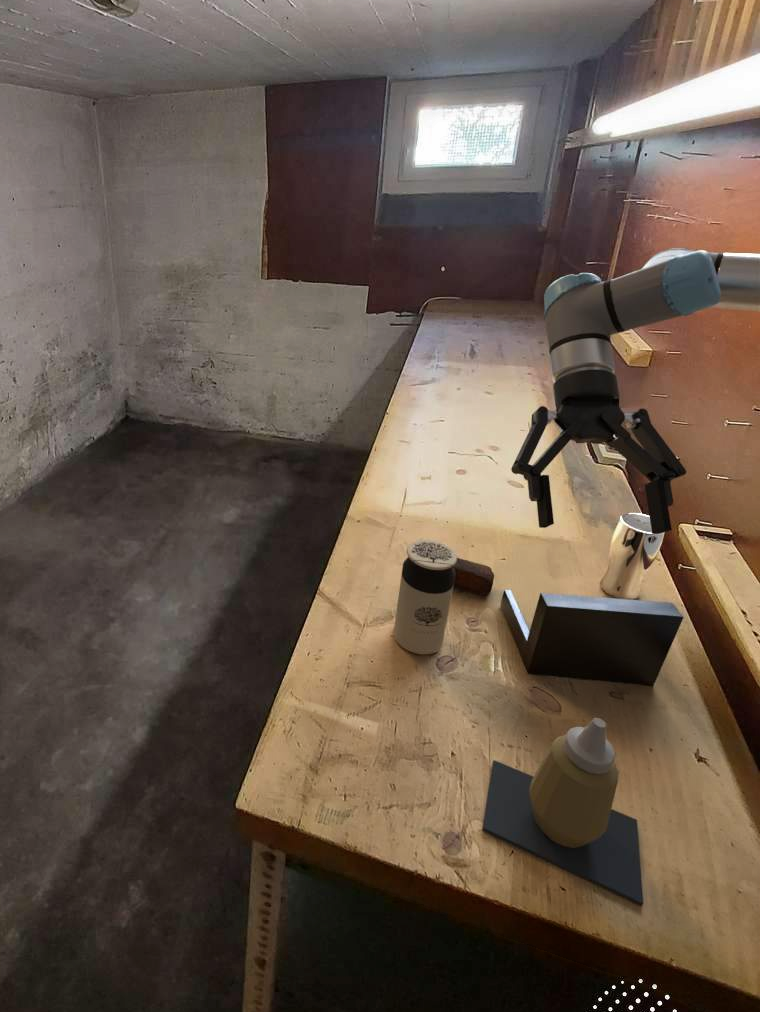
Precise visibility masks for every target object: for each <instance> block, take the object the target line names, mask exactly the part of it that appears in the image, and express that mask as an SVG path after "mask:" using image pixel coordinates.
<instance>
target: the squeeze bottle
mask: <svg viewBox="0 0 760 1012" xmlns="http://www.w3.org/2000/svg"><path fill="white" fill-rule="evenodd" d="M606 735H607V723H606V722H605V721H604V720H603V719H601V718H600V717H594V718H593V719H592V720H591V721H590V722H589V723H588V724H587V725H586V727H583V726H576V727H572V728H570V729H569V730H568V731H567V732H566V734H564V735H559V736H558V737H557V738H555V740H554V741H552V744H551V745H550V747H549V749H548V751H547V752H546V754H545V755H544V757H543V759H542V760H541V763H540V765H539V767H538V768H537V769H536V771H535V774H534V775H533V779H532V781H531V785H530V789H529V793H530V798H531V803H532V808H533V813H534V817H535V821H536V823H537V824H538V826H539V827H540V829H541V831H542V832H543V833H544V834H545V835H547V836H548V837H549V838H550V839H551V840H552V841H554V842H556V843H558V844H560V845H562V846H565V847H570V848H577V847H581V846H584V845H586V844H588V843H590V842H592V841H595V840H597V839H599V838H600V837H601V836H602V834H603V833H604V832H605V831H606V830H607V825H608V821H609V817H610V813H611V809H613V804H614V799H615V795H616V791H617V787H618V782H619V777H620V776H619V774H620V771H619V769H618V766H617V764H616V751H615V748H614V746H613V745H612V744H611V742H609V740H608V739H607V738H606V737H607V736H606Z"/></svg>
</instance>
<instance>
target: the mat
mask: <svg viewBox="0 0 760 1012" xmlns="http://www.w3.org/2000/svg"><path fill="white" fill-rule="evenodd" d="M533 777H534V775H531V774H528V773H527V772H524V771H521V770H519V769H517V768H514V767H511V766H509V765H507V764H504V763H502V762H500V761H498V760H495V759H493V761H492V765H491V773H490V778H489V785H488V792H487V797H486V798H487V799H486V805H485V811H484V817H483V823H482V828H481V829H482V832H485V833H487V834H489V835H491V836H492V837H495V838H498V839H499V840H502V841H503V842H506V843H508V844H510V845H512V846H514V847H516V848H518V849H521V850H523V851H524V852H526V853H529V854H531V855H533V856H535V857H537V858H539V859H541V860H543V861H546V862H547V863H550V864H552V865H553V866H556V867H559V868H561V869H562V870H565V871H566V872H569V873H571V874H573V875H575V876H576V877H579V878H581V879H583V880H585V881H587V882H590V883H591V884H593V885H596V886H598V887H600V888H602V889H604V890H606V891H608V892H611V893H612V894H615V895H617V896H619V897H621V898H623V899H625V900H628V901H629V902H632V903H634V904H636V905H638V906H640V907H642V906H643V905H644V894H643V893H644V892H643V881H642V868H641V855H640V840H639V828H638V820H637V819H636V818H633V817H631V816H630V815H627V814H625V813H621V812H619V811H617V810H614V809H613V808H611V813H610V817H609V821H608V825H607V830H606V831H605V832H604V833H603V834H602V836H601V837H600V838H599V839H597V840H595V841H592V842H590V843H588V844H586V845H584V846H581V847H577V848H570V847H565V846H562V845H560V844H558V843H556V842H554V841H552V840H551V839H550V838H549V837H548V836H547V835H545V834H544V833H543V832H542V831H541V829H540V827H539V826H538V824H537V823H536V821H535V817H534V813H533V808H532V803H531V798H530V793H529V789H530V785H531V781H532V779H533Z"/></svg>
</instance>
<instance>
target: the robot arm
mask: <svg viewBox="0 0 760 1012" xmlns="http://www.w3.org/2000/svg"><path fill="white" fill-rule="evenodd" d="M543 301H544V302H543V304H544V313H543V320H544V322H545V328H546V329H545V330H546V336H547V337H546V338H547V343H548V344H547V345H548V353H549V362H550V371H551V380H552V382H553V385H552V391H553V401H554V406H555V410H551V409H548V408H547V407H546V406H544V405H540V406H539V407H538V408H537V409H536V410H535V411H534V412H533V413H532V414H531V422H530V423H531V424H530V425H531V426H530V429H529V430H528V433H527V434H526V437H525V439H524V441H523V443H522V445H521V448H520V449H519V451H518V454H517V455H516V458H515V460H514V462H513V463H512V466H511V468H510V470H511V473H512V474H514V475H521V476H522V477H523V479H524V480H525V481H527V489H528V498H529V500H530V502H536V509H537V510H536V511H537V520H538V528H541V529H547V528H548V527H550V526H553V525H554V524H555V520H554V512H553V510H554V509H553V504H552V503H553V502H552V501H553V500H552V492H551V483H550V475H549V474H542V473H543V472H544V470H545V469H546V468H547V467H548V466H549V465H550V464H551V463H552V462H553V460H554V459H555V458H556V457H557V455H558V454H560V452H561V451H562V450H563V449H564V448H565V447H566V446H567V444H568V443H569V442H570V441H571V440H572V441H573V442H575V444H586V443H589V444H593V445H601V444H603V443H605V444H606V445H607V446H608V447H609V448H610V449H614V450H615V451H617V453H619V455H621V456H622V457H623V458H624V459H625V460H626V461H627V462H628V463H629V464H630V465H632V466H633V467H634V468H635V469H636V470H637V471H638V472H639V473H640V474H642V475H643V476H644V477H645V478H646V479H647V480H648V481H649V482H648V483H645V484H644V490H645V496H646V502H647V510H648V516H650V522H651V529H652V534H660V533H664V532H665V533H667V532H670V531H672V530H673V529H672V522H671V518H670V511H669V507H671V506H673V504H674V497H673V490H672V485H671V484H672V483H671V481H673V480H676V479H678V478H681V477H683V476H685V475H686V474H687V470H686V468H685V467H684V466H683V464H682V463H681V461H680V460H679V459H678V458H677V456H676V455H675V453H674V452H673V451H672V449H671V448H670V447H669V445H668V443H666V442H665V440H664V439H663V438H662V436H661V435H660V434H659V432H658V431H657V429H656V428H655V427H654V426H653V424H652V421H651V418H650V414H649V411H648V410H647V409H646V408H639V409H638V410H636V411H629V412H624V411H623V410H622V408H621V407H620V391H619V385H618V378H617V375H616V374H615V373H616V364H615V358H614V354H613V353H614V352H613V347H612V341H611V336H613V335H616V334H620V333H621V334H622V333H624V332H625V333H626V332H627V331H631V330H634V329H638V328H642V327H646V326H650V325H653V324H657V323H661V322H664V321H668V320H672V319H676V318H678V317H683V316H684V317H688V316H691V315H693V314H694V313H696V312H699V311H704V310H705V309H711V308H712V309H722V310H723V309H724V310H734V311H745V312H747V311H748V312H758V313H760V253H739V252H738V253H736V252H735V253H733V252H724V253H723V252H708V251H707V250H704V249H700V250H695V251H694V250H691V249H689V248H681V247H680V248H679V247H678V248H669V249H666V250H663V251H660V252H657V253H656V254H654V255H653V256H652V257H651V258H649V259H648V260H646V262H645V263H644V264H643V265H642V267H641V268H640V269H638V270H635V271H631V272H629V273H627V274H624V275H621V276H618V277H616V278H613V279H607V280H604V281H602V279H601V278H600V276H598V275H596V274H595V273H590V272H580V273H578V274H573V273H571V274H567V275H565V276H562V277H560V278H558V279H556V280H554V281H553V282H552V283H551V284H550V285H549V286H548V287H547V288H546V290H545V292H544V295H543ZM552 421H554V423H555V424H556V426H558V427H559V429H560V430H562V431H561V432H560V433H559V434H558V435H557V436H556V437H555V439H554V440H553V441H552V442H551V444H550V445H548V447H547V448H546V449H545V451H544V452H543V453H542V454H541V455H540V456H539V457H538V458H537V460H536V461H535V462H534V463H533V464H529V463H530V462H531V459H532V457H533V455H534V453H535V452H536V451H535V450H536V449H537V447H538V446H539V445H538V444H539V443H540V440H541V438H542V436H543V433H545V430H546V428H547V426H549V425H550V424H551V423H552ZM623 423H624V424H626V428H627V429H630V431H631V432H632V434H633V436H634V438H635V439H636V440H637V441H638V442H637V441H636V440H634V439H633V438H632V436H631V435H632V434H631V433H630V432H629V431H628V430H627V429H626V428H624V426H622V424H623ZM665 533H664V534H665Z"/></svg>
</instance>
